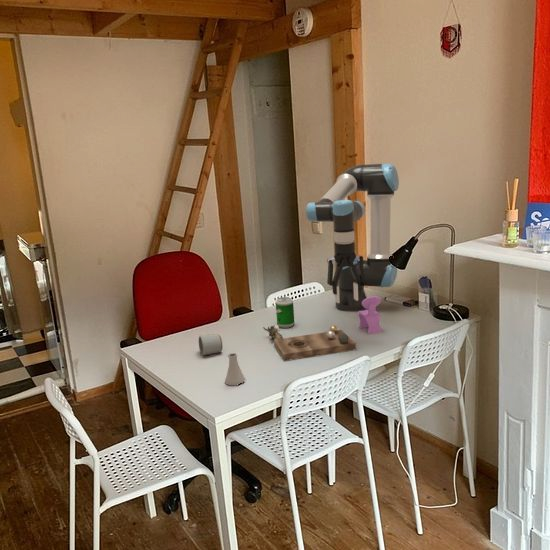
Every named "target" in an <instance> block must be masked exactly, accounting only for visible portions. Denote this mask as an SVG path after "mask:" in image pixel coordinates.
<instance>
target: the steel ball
mask: <svg viewBox="0 0 550 550" xmlns="http://www.w3.org/2000/svg"><path fill="white" fill-rule="evenodd" d="M327 332H328V333H327V337H328V338H329V339H333V338H334V337H335V333H334V332H333V331H330V330H329V331H327Z"/></svg>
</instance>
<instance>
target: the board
mask: <svg viewBox="0 0 550 550" xmlns="http://www.w3.org/2000/svg"><path fill="white" fill-rule="evenodd" d="M328 332H329V331H325V332H319V333H318V332H317V333H311V334H304V335H297V336H292V337H291V336H290V337H283V339H276V340H274V339H273V346H274V348H275V349H276V351H277V353H278V354H279V353H280V354H279V355H280V357H281V358H282V360H283V359H284V360H286V361H291V360H290V359H292V360H297V359H296V358H299V359H303V358H311V357H317V355H318V356H323V355H330V353H331V354H336V353H341V352H343V353H344V352H349V350H350V351H355V350H354V349H356V348H357V347H356V346H357V345H356V342H355V341H354V340H353V339H352V338H351V337H350V336H348V341H347V342H346V343H341V342H340V341H339V339H338V337H339V335H340V334H342V333H345V332H344V330H342V329H337V332H336V333H335V337H334V338H333V339H329V338H328V337H327V333H328ZM356 350H357V349H356ZM284 360H283V361H284Z"/></svg>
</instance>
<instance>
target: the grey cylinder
mask: <svg viewBox="0 0 550 550" xmlns="http://www.w3.org/2000/svg"><path fill="white" fill-rule="evenodd" d="M198 350H199V352H200V355H201V356H209V355H211V354H218V353H220V352H222V350H223V340H222V337H221V335H220V334H219V333H218V334H216V333H214V334H202V335H199V336H198Z"/></svg>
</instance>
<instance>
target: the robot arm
mask: <svg viewBox="0 0 550 550" xmlns="http://www.w3.org/2000/svg"><path fill="white" fill-rule="evenodd" d="M399 183H400V181H399V174H398V171H397V168H396V166H395V165H394V164H392V163H374V164H372V163H371V164H359V165H358V164H357V165H354V166H352V167H349V168H348V169H347V170H345V171H343V172H342V173H341V174H340V175H339V176H338V177H337V178H336V182H335V183H334V185H332V187H330V189H329V190H328V191H326V193H325V194H324V195H323V196H322V197H321V198H320V199H319V200H318V202H317V201H316V202H315V201H313V202H309V203H307V205H306V208H305V215H306V216H305V217H306V219H307V220H308V221H309V222H316V223H319V222H321V223H322V222H325V223H327V222H329V223H330V222H333V238H334V256H333V257H332V258H327V260H326V262H327V266H328V267H327V282H326V284H327V285H328V286H331V287H332V294H333V295H334V299H335V300H334V301H335V308H336V309H337V310H339V311H344V312H359V311H364V310H367V309H366V308H364V307H363V306H362V301H363V300H364V299H366V298H368V297H367V294H366V291H365V287H378V288H379V287H380V288H390V287H392V286H394V284H395V282H396V279H397V276H398V275H397V274H398V269H397V268H396V267H394V266H393V265H392V264H391V263H390V262H389V257H390V256H393V255H392V254H391V199H392V198H393V197H394V195H395V192H397V191H398V190H399V185H400V184H399ZM355 192H366V193H367V195H366V196H367V197H368V198H369V199H370V253H369V254H368V255H367V256H366V260H364V256H363V255H361V254H358V255H356V244H355V242H354V241H355V239H356V238H355V222H357V221H360V220H361V219H362V217H364V215H365V206H364V204H363V203H362V202H360V201H358V200H350V199H347V198H348V196H349V195H353V194H354V193H355ZM335 262H336V268H335V272H334V264H335Z"/></svg>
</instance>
